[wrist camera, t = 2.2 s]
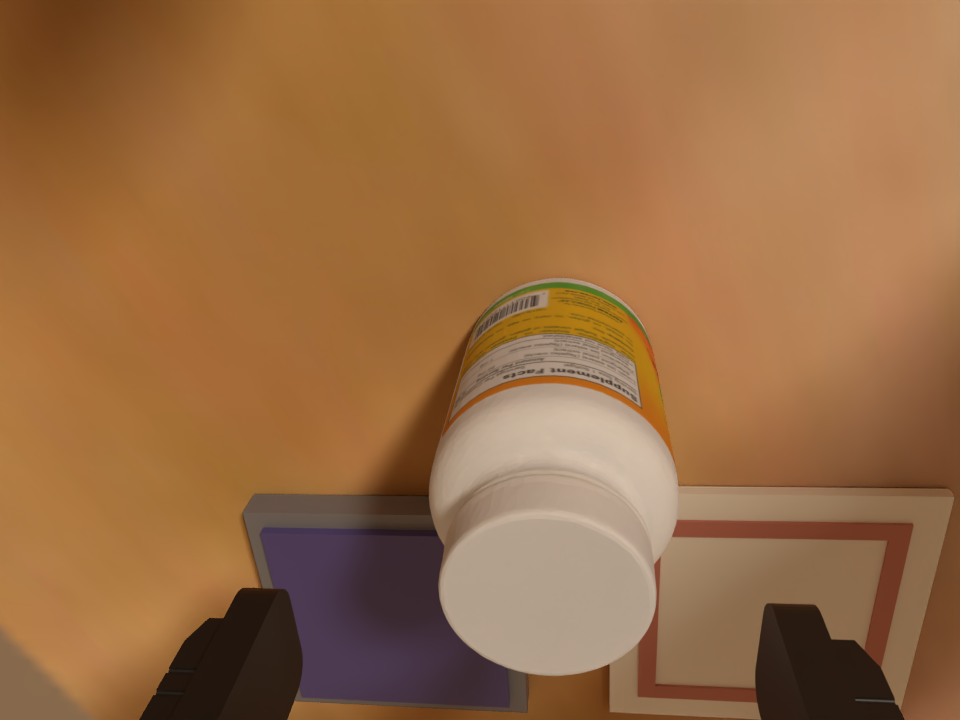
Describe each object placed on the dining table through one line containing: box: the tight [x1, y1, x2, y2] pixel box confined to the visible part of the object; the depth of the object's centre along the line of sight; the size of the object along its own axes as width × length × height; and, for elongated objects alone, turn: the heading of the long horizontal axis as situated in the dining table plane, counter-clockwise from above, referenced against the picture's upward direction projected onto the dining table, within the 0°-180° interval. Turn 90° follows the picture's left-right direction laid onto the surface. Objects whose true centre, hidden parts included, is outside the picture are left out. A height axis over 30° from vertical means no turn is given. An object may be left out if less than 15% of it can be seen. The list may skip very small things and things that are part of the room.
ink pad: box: [243, 494, 529, 713], centre depth 27 cm, size 9×9×1 cm
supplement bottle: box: [429, 278, 679, 676], centre depth 18 cm, size 5×5×10 cm
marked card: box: [609, 486, 955, 720], centre depth 25 cm, size 10×10×1 cm
